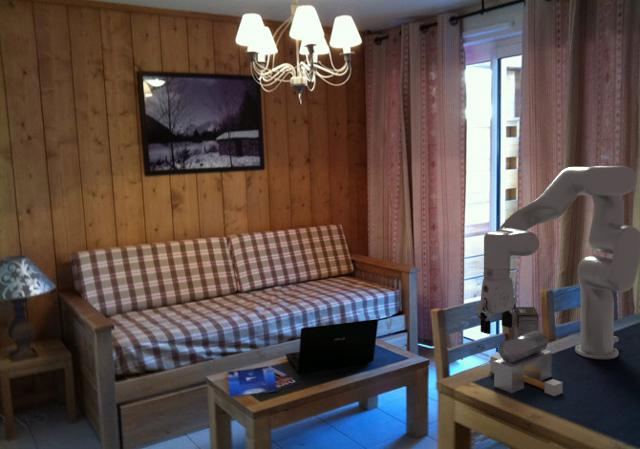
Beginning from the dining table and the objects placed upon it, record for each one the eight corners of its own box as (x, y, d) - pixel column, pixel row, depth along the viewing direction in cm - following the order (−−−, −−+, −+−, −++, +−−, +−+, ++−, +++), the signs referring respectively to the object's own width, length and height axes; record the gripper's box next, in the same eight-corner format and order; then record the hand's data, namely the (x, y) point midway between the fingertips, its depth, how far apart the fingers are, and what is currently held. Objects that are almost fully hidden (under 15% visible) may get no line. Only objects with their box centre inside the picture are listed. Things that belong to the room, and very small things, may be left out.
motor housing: (533, 370, 171) (533, 327, 169) (551, 376, 166) (551, 331, 164) (494, 386, 161) (493, 340, 159) (511, 393, 156) (511, 346, 154)
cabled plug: (497, 366, 175) (496, 351, 174) (563, 392, 155) (563, 375, 154) (486, 370, 173) (486, 354, 172) (552, 396, 152) (552, 379, 152)
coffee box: (513, 354, 185) (513, 306, 183) (534, 354, 183) (534, 306, 181) (517, 364, 176) (517, 314, 174) (539, 365, 175) (539, 314, 173)
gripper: (487, 279, 159) (487, 338, 161) (526, 271, 168) (525, 327, 170) (466, 275, 165) (466, 332, 167) (505, 267, 174) (504, 321, 176)
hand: (496, 329), depth 169 cm, fingers open, 9 cm apart
